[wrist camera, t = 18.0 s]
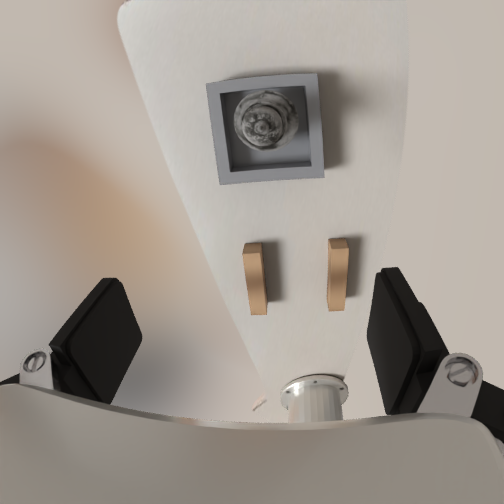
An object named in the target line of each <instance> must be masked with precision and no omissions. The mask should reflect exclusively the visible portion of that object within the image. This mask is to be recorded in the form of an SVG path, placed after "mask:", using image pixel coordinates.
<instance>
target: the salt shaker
mask: <svg viewBox="0 0 504 504" xmlns="http://www.w3.org/2000/svg"><path fill="white" fill-rule="evenodd" d="M298 124H299V118H298V112H297V110H296V108H295V106H294V104H293V103H292V102H291V101H290V100H289V98H287V97H286V96H284V95H283V94H281V93H279V92H276V91H272V90H260V91H255V92H253V93H251V94H249V95H247V96H246V97H245V98H244V99H242V100H241V102H240V103H239V105H238V106H237V108H236V111H235V114H234V126H235V131H236V133H237V135H238V137H239V138H240V139H241V140H242V141H243V143H244V144H246V145H247V146H249V147H250V148H252V149H255V150H258V151H264V152H270V151H276V150H278V149H281V148H283V147H285V146H286V145H287V144H289V143H290V142H291V140H292V139H293V138H294V137H295V134H296V132H297V130H298Z"/></svg>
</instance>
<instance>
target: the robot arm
mask: <svg viewBox="0 0 504 504" xmlns="http://www.w3.org/2000/svg"><path fill="white" fill-rule="evenodd" d="M141 341H142V333H141V331H140V328H139V326H138V323H137V321H136V318H135V316H134V313H133V311H132V308H131V306H130V303H129V300H128V298H127V295H126V292H125V289H124V287H123V284H122V283H121V282H119V280H118V279H117V278H103V279H102V280H101V281H100V282H99V283H98V284H97V285H96V286H95V288H94V289H93V290H92V291H91V292H90V293H89V295H88V296H87V297H86V298H85V299H84V300H83V302H82V303H81V304H80V305H79V306H78V308H77V309H76V310H75V311H74V313H73V314H72V315H71V316H70V318H69V319H68V320H67V321H66V323H65V324H64V325H63V326H62V328H61V329H60V330H59V332H58V333H57V334H56V335H55V337H54V338H53V340H52V341H51V342H50V343H49V346H50V347H51V349H52V351H53V352H52V353H51V354H50V353H49V352H48V350H46V349H36V350H34V351H32V352H30V353H29V354H27V355H26V356H25V357H24V359H23V360H22V362H21V365H20V373H19V374H17V375H15V376H13V377H10V378H8V379H6V380H4V381H2V382H0V504H504V390H503V389H500V388H498V387H496V386H494V385H492V384H490V383H488V382H486V381H483V380H482V378H483V372H482V368H481V366H480V364H479V363H478V361H476V360H475V359H474V358H473V357H471V356H469V355H467V354H463V353H453V354H449V352H448V350H447V348H446V346H445V344H444V342H443V340H442V338H441V336H440V334H439V332H438V331H437V329H436V327H435V325H434V323H433V321H432V319H431V317H430V315H429V314H428V312H427V310H426V308H425V307H424V305H423V304H422V303H421V302H418V300H417V298H416V297H415V295H414V293H413V291H412V289H411V288H410V286H409V284H408V283H407V281H406V280H405V278H404V276H403V274H402V273H401V271H400V269H399V268H398V267H392V268H382V269H381V272H379V273H376V277H375V285H374V292H373V299H372V305H371V311H370V317H369V323H368V328H367V341H368V345H369V348H370V352H371V356H372V359H373V363H374V367H375V371H376V375H377V379H378V383H379V387H380V391H381V395H382V399H383V404H384V408H385V412H386V414H387V415H389V416H379V417H371V418H362V419H352V420H343V415H342V406H341V405H342V404H343V403H344V402H345V401H346V399H347V397H348V388H347V385H346V384H345V383H344V382H343V381H342V380H340V379H338V378H335V377H332V376H326V375H313V376H306V377H302V378H299V379H297V380H294V381H292V382H290V383H289V384H287V385H286V386H285V387H284V388H283V389H282V391H281V394H280V402H281V404H282V406H283V407H284V408H286V409H287V410H288V423H247V422H227V421H212V420H202V419H193V418H184V417H176V416H168V415H162V414H156V413H150V412H144V411H138V410H133V409H128V408H123V407H118V406H113V405H110V404H111V402H112V400H113V398H114V396H115V394H116V392H117V390H118V388H119V386H120V384H121V382H122V380H123V378H124V375H125V374H126V372H127V370H128V367H129V366H130V364H131V361H132V360H133V358H134V356H135V353H136V352H137V350H138V348H139V346H140V344H141Z"/></svg>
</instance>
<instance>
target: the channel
mask: <svg viewBox="0 0 504 504" xmlns="http://www.w3.org/2000/svg"><path fill="white" fill-rule="evenodd" d="M242 255H243V262H244V269H245V276H246V283H247V290H248V297H249V304H250V311H251V315H267V303H268V302H267V292H266V282H265V273H264V263H263V253H262V244H261V243H250V244H245V245H244V249H243V253H242ZM348 256H349V247H348V245H347V242H346V240H345V238H341V239H328V284H327V303H328V308H329V311H343V310H344V308H345V297H346V286H347V272H348Z"/></svg>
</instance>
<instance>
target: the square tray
mask: <svg viewBox="0 0 504 504" xmlns="http://www.w3.org/2000/svg"><path fill="white" fill-rule="evenodd" d="M206 90H207V97H208V105H209V112H210V120H211V127H212V134H213V141H214V148H215V155H216V162H217V169H218V176H219V183H220V185H226V184H237V183H248V182H261V181H274V180H290V179H309V178H324V157H323V139H322V123H321V110H320V98H319V88H318V78H317V73H306V74H284V75H270V76H259V77H249V78H241V79H233V80H226V81H219V82H213V83H207V84H206ZM260 90H272V91H276V92H279V93H281V94H283V95H284V96H286V97H287V98H289V100H290V101H291V102H292V103H293V104H294V106H295V108H296V110H297V112H298V118H299V124H298V130H297V132H296V134H295V137H294V138H293V139H292V140H291V142H290V143H289V144H287V145H286V146H285V147H283V148H281V149H278V150H276V151H270V152H264V151H258V150H255V149H252V148H250V147H249V146H247V145H246V144H244V143H243V141H242V140H241V139H240V138H239V137H238V135H237V133H236V131H235V126H234V114H235V111H236V108H237V106H238V105H239V103H240V102H241V100H242V99H244V98H245V97H246V96H247V95H249V94H251V93H253V92H255V91H260Z"/></svg>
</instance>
